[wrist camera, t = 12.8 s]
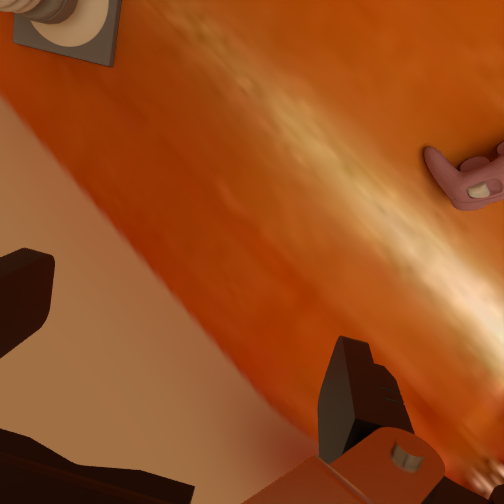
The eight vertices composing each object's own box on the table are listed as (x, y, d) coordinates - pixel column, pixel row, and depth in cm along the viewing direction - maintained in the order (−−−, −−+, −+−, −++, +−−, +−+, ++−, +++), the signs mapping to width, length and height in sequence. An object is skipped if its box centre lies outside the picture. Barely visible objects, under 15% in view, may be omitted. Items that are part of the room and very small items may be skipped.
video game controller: (429, 186, 41) (466, 231, 36) (416, 147, 38) (453, 189, 33) (539, 131, 39) (596, 170, 33) (532, 85, 36) (593, 120, 30)
